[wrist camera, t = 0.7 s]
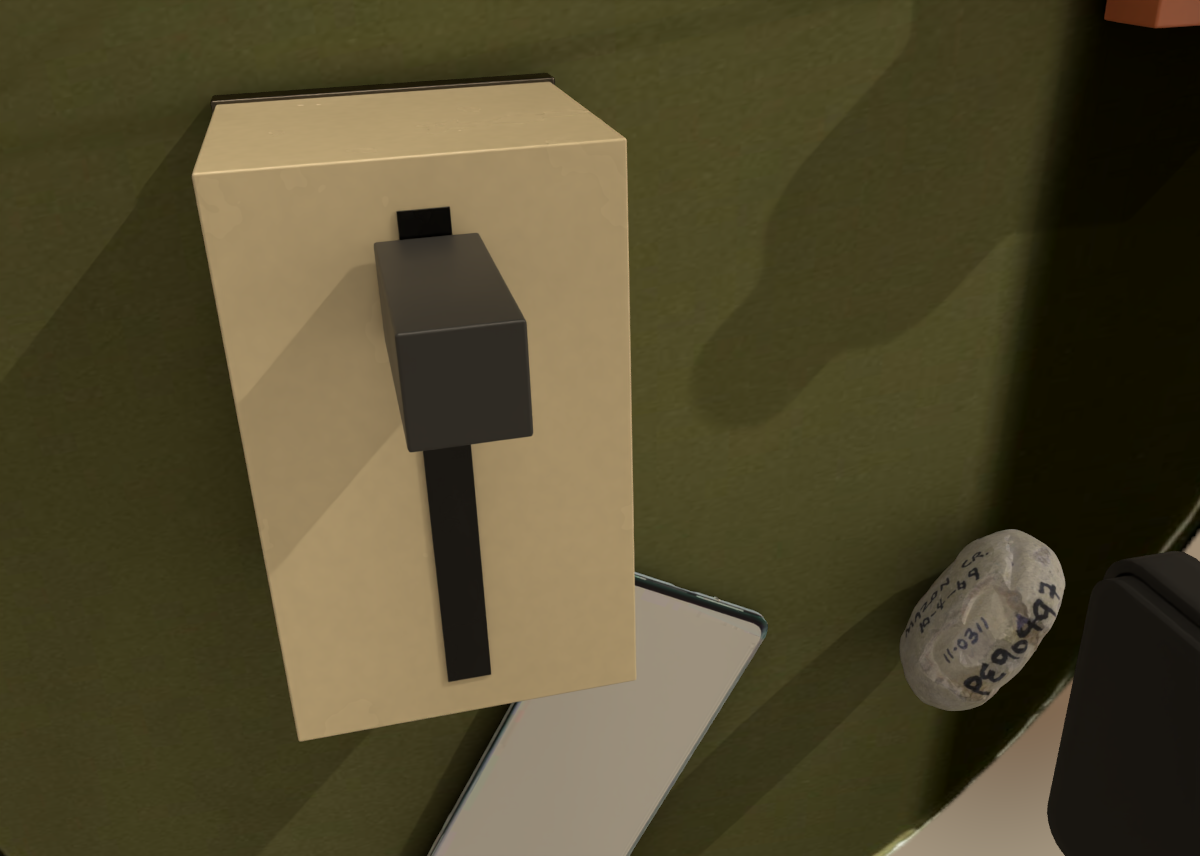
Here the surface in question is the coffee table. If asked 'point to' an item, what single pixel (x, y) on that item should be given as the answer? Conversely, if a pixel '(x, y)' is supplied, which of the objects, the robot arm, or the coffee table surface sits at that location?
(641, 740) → the smartphone
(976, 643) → the fossil
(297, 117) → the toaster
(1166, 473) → the coffee table surface
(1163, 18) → the timer box
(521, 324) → the slider
